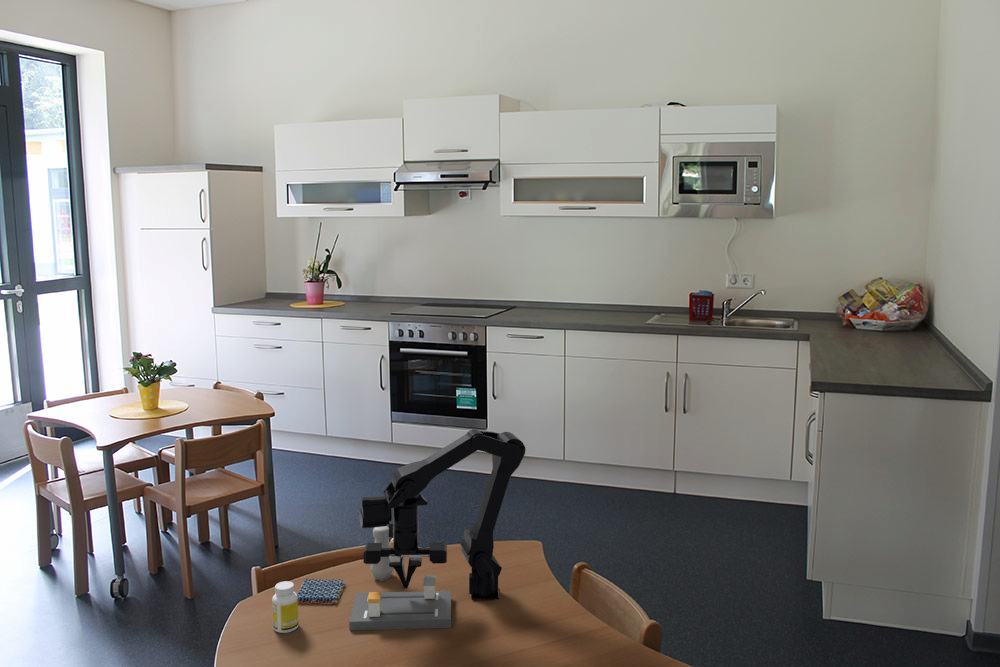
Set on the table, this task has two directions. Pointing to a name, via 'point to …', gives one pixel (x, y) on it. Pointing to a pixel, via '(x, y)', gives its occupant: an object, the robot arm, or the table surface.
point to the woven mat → (320, 591)
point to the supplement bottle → (285, 608)
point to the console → (403, 611)
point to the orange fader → (374, 604)
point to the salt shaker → (382, 568)
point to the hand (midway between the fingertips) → (405, 587)
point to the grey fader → (429, 587)
